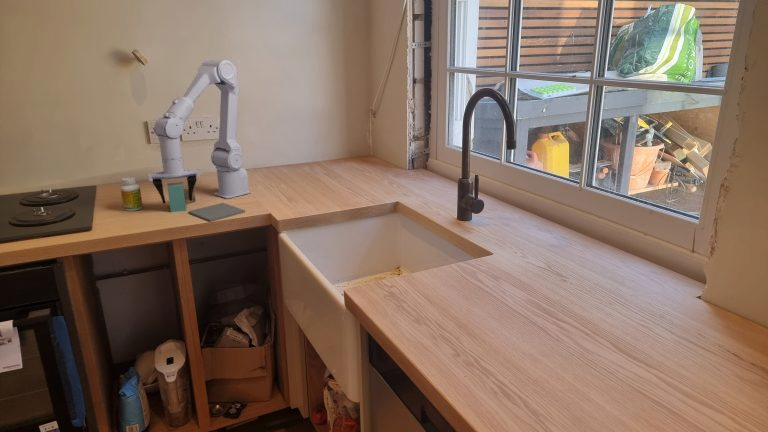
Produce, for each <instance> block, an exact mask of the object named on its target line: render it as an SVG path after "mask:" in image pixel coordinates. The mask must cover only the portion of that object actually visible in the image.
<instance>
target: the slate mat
mask: <svg viewBox="0 0 768 432" xmlns="http://www.w3.org/2000/svg"><path fill="white" fill-rule="evenodd" d="M244 213H246V209H242V208H239V207H236V206H235V205H230V204H227V203H225V202H221V203H216V204H213V205H208V206H204V207H201V208H196V209H192V210H189V211H188V214H189V215H192V216H194V217H197V218H200V219H203V220H205V221H207V222H215V221H218V220H221V219H225V218H230V217H233V216H237V215H239V214H244Z"/></svg>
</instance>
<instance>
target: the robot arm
mask: <svg viewBox="0 0 768 432" xmlns="http://www.w3.org/2000/svg"><path fill="white" fill-rule="evenodd" d="M237 70H238V69H237V68H236V66H235V65H234V64H233V62H231V61H230V60H228V59H223V60H219V59H218V60H217V59H214V60H213V59H205V60H204V61H202V63H201V65H200V66H199V67H197V73H196V75H195V76H194V78H193V80H192V81H191V83H190V84H189V86H188V88H187V89H186V91H185V93H184V94H183V96H178V97H176V98H173V100H172V101H171V103H172V104H171V105H170V107H169V108H168V110H167V111H166V112H164V113H163V117H159V118H158V119H157V120H156V121H155V124H154V127H153V129H152V130H153V132H154V134H155V135H156V136H157V138H158V143H159V148H160V157H161V163H162V170H163V171H160V172H154V173H153V172H152V173H148V174H147V178H148V182H152V183H153V186H154V187H155V189H156V190H157V191H158V193H159V195H160V198H161V200H162V204H166V198H165V194H164V186H163V180H173V179H183V178H185V179H186V180H187V181H186V182H187V189H188V191H189V200H190V201H191V200H192V194H193V190H195V185H196V183H197V181H198V177H199V178H200V177H201V175H200V169H199V168H198V169H184V163H183V154H182V146H181V145H182V144H181V138H180V136H181V135H182V134H183V132H184V125H185V123H186V121H187V120H188V119H189V118H190V116H191V114H192V113H193V112H194V110H195V107H194V106H195V105H194V103H195V102H196V101H197V99H198V98H199V97H200V96H201V95H202V93H203V92H204V91H205V90H206V88H207V87H208V86H209V85H215V86H216V87H217V89H218V90H219V91H220V103H219V105H220V106H219V108H220V109H219V128H218V139H217V141H216V142H215V143H214V144H213V149H212V152H211V155H210V160H211V163H212V164H213V166H215V169H216V174H217V175H216V176H217V185H218V192H214V193H213V195H215V196H217V197H221V198H224V199H226V200H228V199H232V198H236V197H240V196H244V195H248V194H250V193H251V191H250V189H249V187H250V185H249V177H248V171H247V169H246V168H245V167H243V166H242V165H243V164H244V156H243V154H242V153H243V152H242V146H241V145H240V144H239V143H238V141H237V131H238V129H237V128H238V111H239V92H240V87H239V82H238V78H237V74H238V73H237Z"/></svg>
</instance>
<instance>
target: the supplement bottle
mask: <svg viewBox="0 0 768 432" xmlns="http://www.w3.org/2000/svg"><path fill="white" fill-rule="evenodd" d="M121 183H122V185H121V186H120V193H121V200H122V207H123V210H124V211H125V212H135V211H139V210H141V209H143V200H142V198H143V197H142V191H141V187H140V185H139V184H138V183H137V178H136V177H134V176H126V177H123V178H121Z"/></svg>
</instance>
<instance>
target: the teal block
mask: <svg viewBox="0 0 768 432" xmlns="http://www.w3.org/2000/svg"><path fill="white" fill-rule="evenodd" d="M166 186H167V187H166V188H167V195H168V201H169V202H168V203H169V209H170V213H177V212H186V211H187V205H186V202H185V194H184V189H185V187H184V182H183V181H181V182H170V183H167V185H166Z"/></svg>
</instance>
